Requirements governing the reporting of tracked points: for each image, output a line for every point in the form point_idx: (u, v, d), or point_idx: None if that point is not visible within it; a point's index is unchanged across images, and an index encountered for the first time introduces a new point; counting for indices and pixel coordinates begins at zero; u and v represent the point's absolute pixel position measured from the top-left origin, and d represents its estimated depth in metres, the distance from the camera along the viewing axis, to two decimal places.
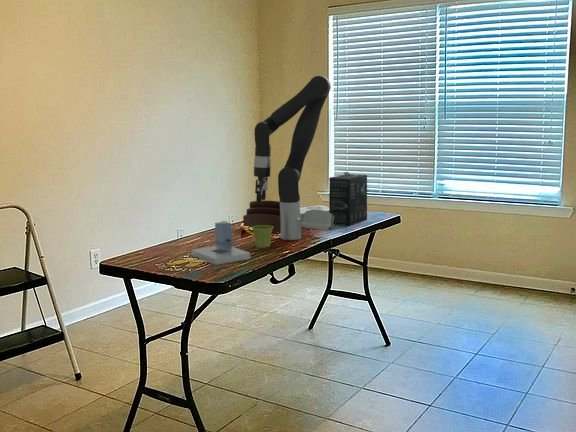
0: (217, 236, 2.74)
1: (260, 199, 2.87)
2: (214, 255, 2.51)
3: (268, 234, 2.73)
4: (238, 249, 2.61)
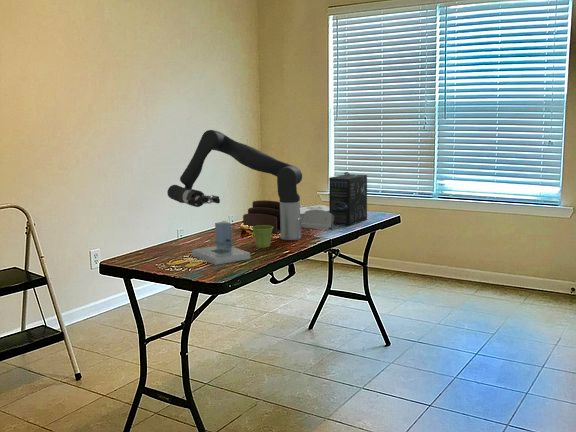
0: (217, 236, 2.74)
1: (199, 200, 2.79)
2: (214, 255, 2.51)
3: (268, 234, 2.73)
4: (238, 249, 2.61)
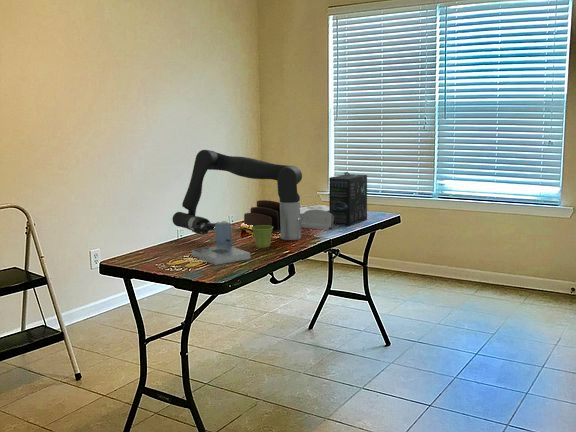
0: (217, 236, 2.74)
1: (204, 229, 2.78)
2: (214, 255, 2.51)
3: (268, 234, 2.73)
4: (238, 249, 2.61)
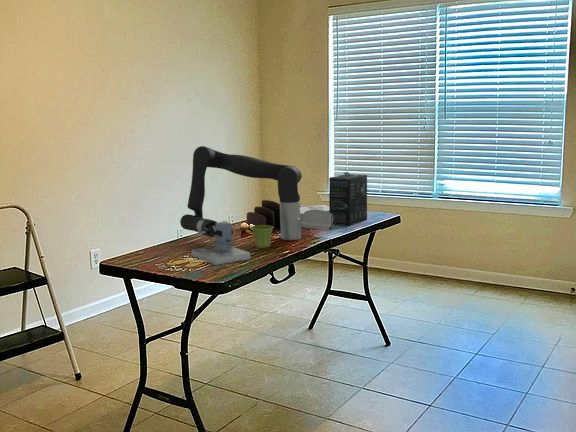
0: (217, 236, 2.74)
1: (219, 231, 2.71)
2: (214, 255, 2.51)
3: (268, 234, 2.73)
4: (238, 249, 2.61)
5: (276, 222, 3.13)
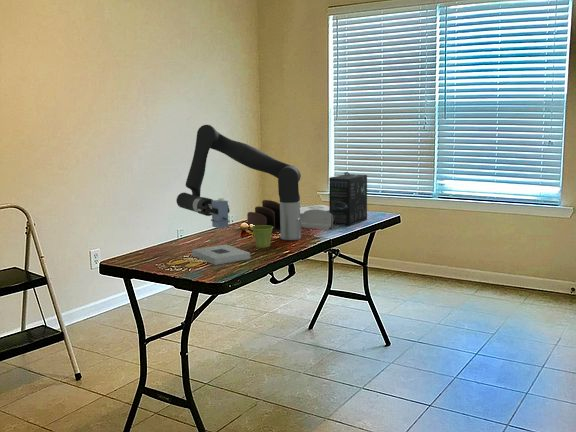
0: (213, 214, 2.65)
1: (215, 209, 2.61)
2: (214, 255, 2.51)
3: (268, 234, 2.73)
4: (238, 249, 2.61)
5: (277, 222, 3.14)
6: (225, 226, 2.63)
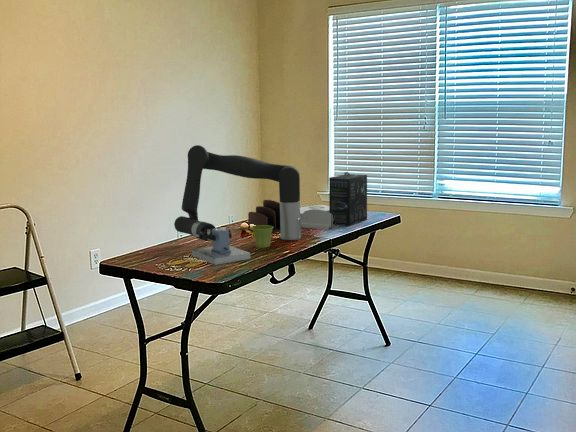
0: (214, 244, 2.58)
1: (212, 235, 2.54)
2: (214, 255, 2.51)
3: (268, 234, 2.73)
4: (238, 249, 2.61)
5: (277, 222, 3.14)
6: None
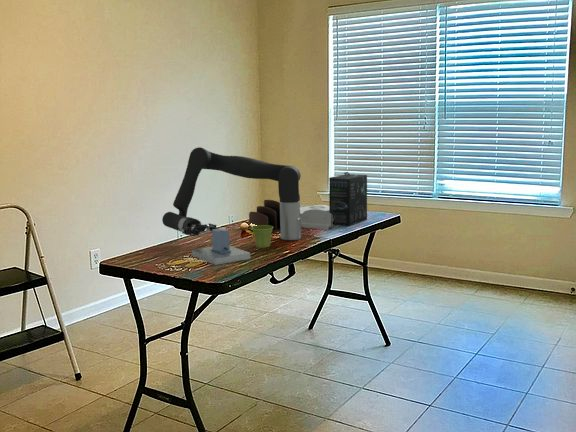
0: (214, 244, 2.58)
1: (195, 230, 2.65)
2: (214, 255, 2.51)
3: (268, 234, 2.73)
4: (238, 249, 2.61)
5: (278, 222, 3.15)
6: None
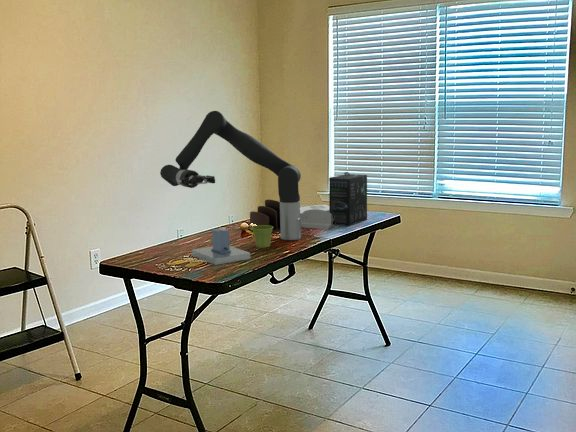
0: (214, 244, 2.58)
1: (193, 180, 2.61)
2: (214, 255, 2.51)
3: (268, 234, 2.73)
4: (238, 249, 2.61)
5: (279, 221, 3.15)
6: None
